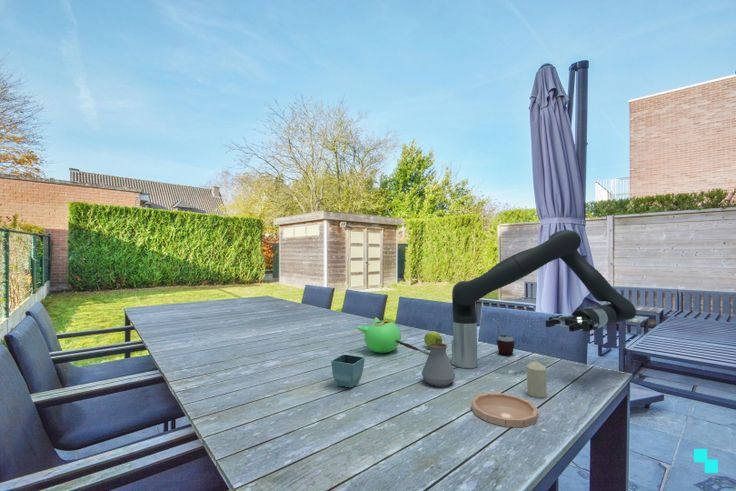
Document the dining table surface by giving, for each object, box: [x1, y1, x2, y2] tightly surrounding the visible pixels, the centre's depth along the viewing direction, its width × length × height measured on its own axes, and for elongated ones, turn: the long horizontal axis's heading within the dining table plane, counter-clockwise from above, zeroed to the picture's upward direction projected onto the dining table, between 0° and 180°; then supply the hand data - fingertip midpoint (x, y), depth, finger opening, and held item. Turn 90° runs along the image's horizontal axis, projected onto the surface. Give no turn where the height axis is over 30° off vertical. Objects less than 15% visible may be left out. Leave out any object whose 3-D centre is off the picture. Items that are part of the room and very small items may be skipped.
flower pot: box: [330, 353, 365, 388], centre depth 118 cm, size 9×9×9 cm
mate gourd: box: [492, 318, 515, 358], centre depth 151 cm, size 8×8×15 cm
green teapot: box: [356, 317, 402, 354], centre depth 157 cm, size 18×17×15 cm
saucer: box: [470, 392, 539, 428], centre depth 97 cm, size 17×17×2 cm
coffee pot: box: [394, 340, 456, 387], centre depth 119 cm, size 21×12×15 cm, turn 92°
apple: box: [423, 330, 443, 348], centre depth 161 cm, size 8×9×8 cm
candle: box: [526, 361, 547, 399], centre depth 109 cm, size 6×6×10 cm
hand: (557, 326), depth 114 cm, fingers open, 8 cm apart
